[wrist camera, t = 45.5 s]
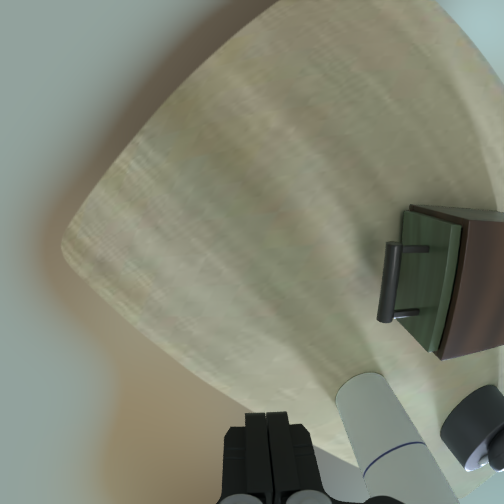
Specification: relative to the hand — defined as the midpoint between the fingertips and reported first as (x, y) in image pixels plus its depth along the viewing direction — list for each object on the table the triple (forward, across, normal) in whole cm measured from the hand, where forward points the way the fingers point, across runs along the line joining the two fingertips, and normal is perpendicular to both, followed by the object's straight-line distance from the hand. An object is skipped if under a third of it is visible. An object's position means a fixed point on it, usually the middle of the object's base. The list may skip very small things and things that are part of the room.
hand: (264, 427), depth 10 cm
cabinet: (+21, -24, 0) cm, 32 cm away
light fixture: (+21, -39, +29) cm, 53 cm away
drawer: (+20, -20, 0) cm, 28 cm away
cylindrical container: (+21, -14, +18) cm, 31 cm away
